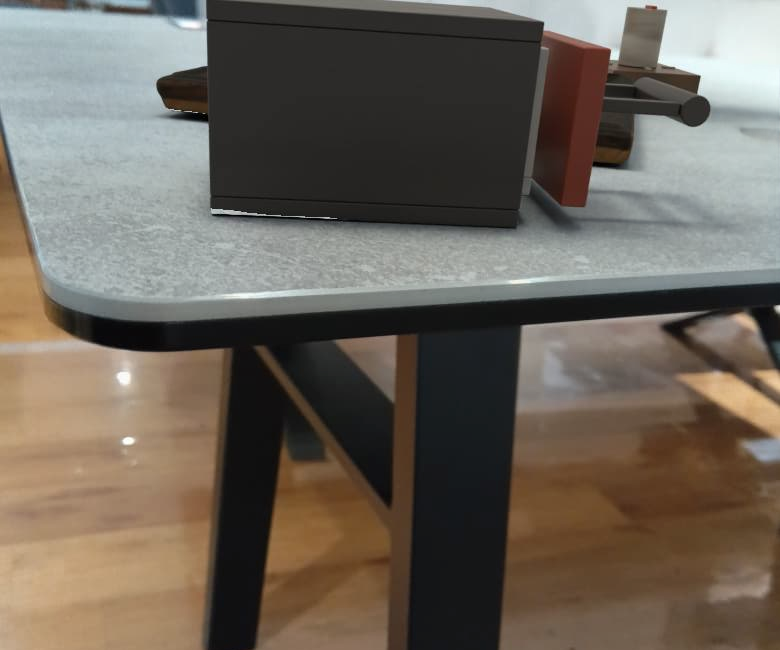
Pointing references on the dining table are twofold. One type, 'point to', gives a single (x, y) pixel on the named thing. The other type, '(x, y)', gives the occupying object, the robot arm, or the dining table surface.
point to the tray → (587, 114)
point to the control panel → (659, 75)
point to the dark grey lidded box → (370, 109)
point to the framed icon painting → (611, 142)
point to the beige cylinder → (642, 36)
